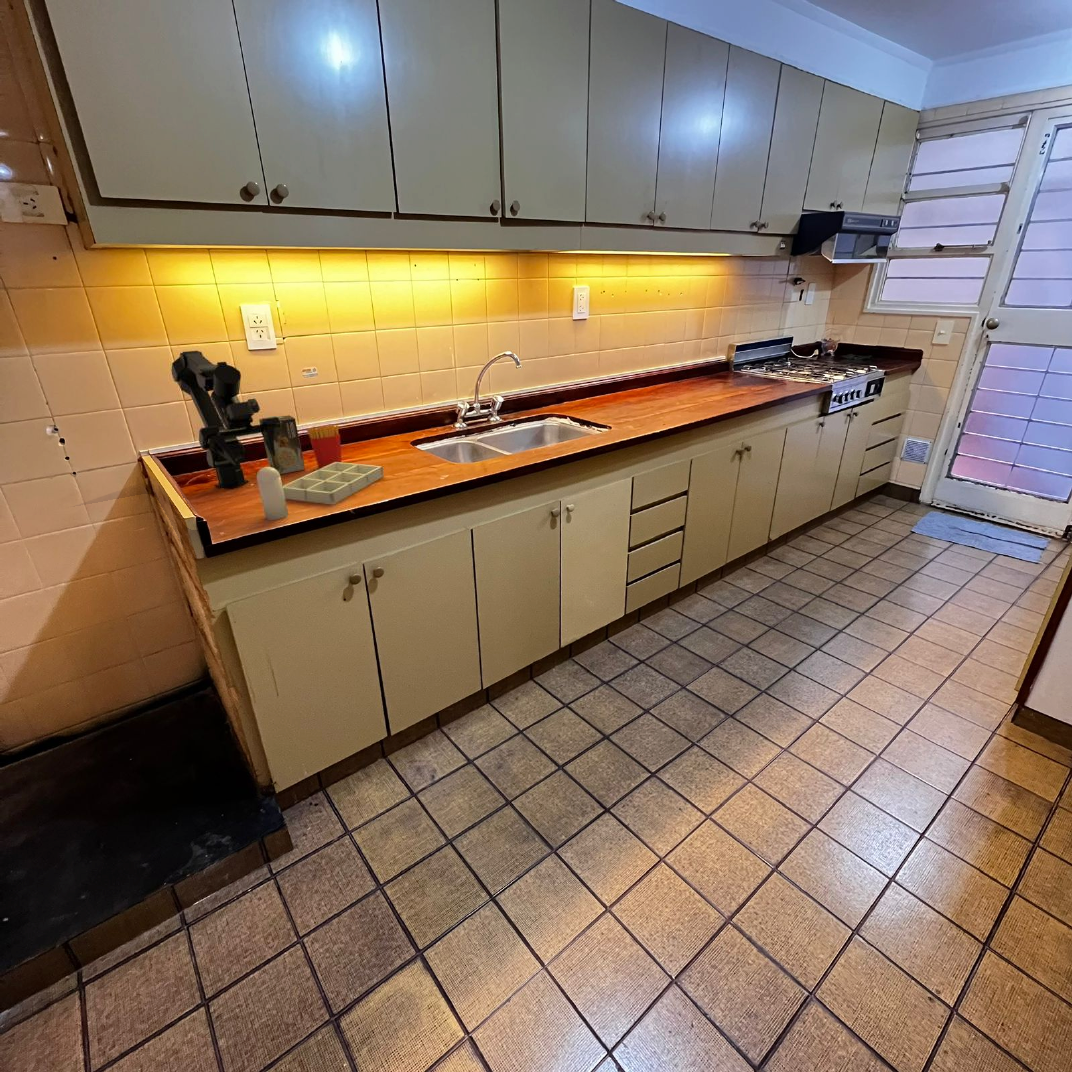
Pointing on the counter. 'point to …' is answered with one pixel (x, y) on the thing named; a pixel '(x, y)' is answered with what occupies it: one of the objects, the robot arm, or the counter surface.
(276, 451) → the coffee box
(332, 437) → the french fries
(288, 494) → the divided tray
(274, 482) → the white rounded cylinder
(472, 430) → the counter surface
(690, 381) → the counter surface
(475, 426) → the counter surface
